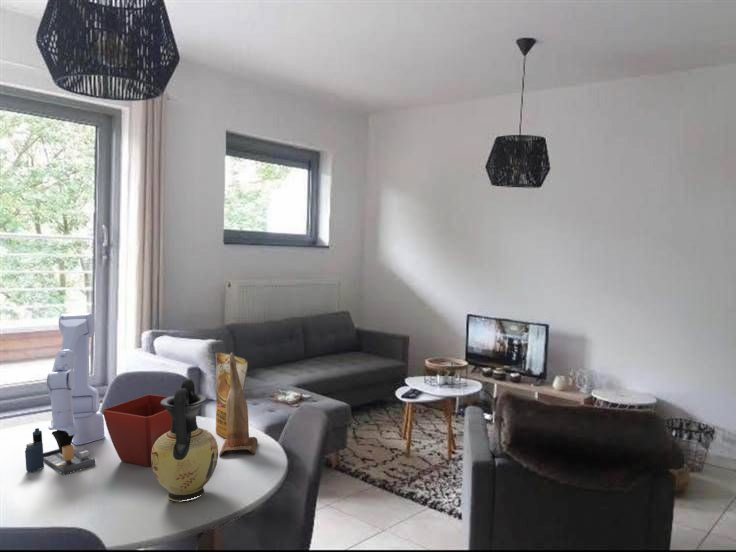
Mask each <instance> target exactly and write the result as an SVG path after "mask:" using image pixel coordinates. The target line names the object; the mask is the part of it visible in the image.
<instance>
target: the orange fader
mask: <svg viewBox="0 0 736 552" xmlns="http://www.w3.org/2000/svg"><path fill="white" fill-rule="evenodd" d="M74 449H75V448H74V445H73V444H72V443H71V444H70V445H67V446H63V447H62V456H63V460H64V461H66V462H67V463H70V462H71V459H74Z"/></svg>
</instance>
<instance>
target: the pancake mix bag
mask: <svg viewBox="0 0 736 552" xmlns="http://www.w3.org/2000/svg"><path fill="white" fill-rule="evenodd" d="M230 354H231V353H225V352H216V353H214V357H215V400H216V402H215V403H216V406H215V434H216V435H217V436H220V437H221V438H223V439H224V440H226V439H227V424H226V401H227V397H228V394H229V391H230ZM234 357H235V362H236V368H237V372H238V375H239V379H240V383H241V387H242V390H243V393H244V390H245V382H246V377H247V374H248V368H249V365H248V364H249V363H248V360H247V359H246V358H245V357H244V358H243V357H241V356H236V355H234Z"/></svg>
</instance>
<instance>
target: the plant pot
mask: <svg viewBox="0 0 736 552" xmlns="http://www.w3.org/2000/svg"><path fill="white" fill-rule="evenodd" d="M167 397H168V396H165V395H160V394H159V395H158V394H146V395H143V396H140V397H137V398H134V399H130V400H128V401H125V402H122V403H117V404H114V405H113V406H110V407H107V408H104V409H103V410H102V412H103V413H102V415H103V419H104V423H105V425H106V429H107V431H108V435H109V437H110V441H111V443H112V445H113V447H114V450H115V452H116V454H117V456H118V458H119V459H120V461H121V462H125V463H129V464H134V465H138V466H144V467H147V468H148V467H152V464H151V452H152V448H153V445H154V444H155V442H156V440H157V439H158V438H159V437H160V436H162V435H163V434H165V433H167V432H169V431H170V430H171V427H172V417H171V415H170V414H169V413H168V411H167V408H166V407H163V406H162V405H161V404H160V403H161V401H162V400H163V399H165V398H167Z"/></svg>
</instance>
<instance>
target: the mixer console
mask: <svg viewBox="0 0 736 552" xmlns="http://www.w3.org/2000/svg"><path fill="white" fill-rule="evenodd" d="M43 458H44V463H46V464H47V465H48V466H50V467H51V468H53V469H54V470H56V471H57V470H58V471H57V472H59V473H60V472H61V474H62V475H63V474H65V475H68V474H71V473H70V472H72V473H74V472H73V471H75V472H77V470H78V471H81V470H84V468H85V469H87V468H91V467H94V466H96V458H95V457H93V458H90V453H89V451H88V450H83V451H78V450H76V449H75V448H74V459H71V462H70V463H67V462H66V461H64V460H63V456H62V454H61V453H60V450H59V448H56V449H53V450H49V451H45V452H43ZM80 469H81V470H80ZM67 473H68V474H67Z"/></svg>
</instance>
